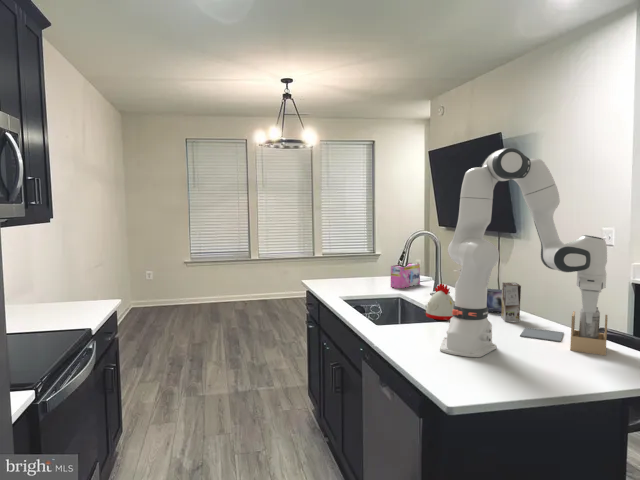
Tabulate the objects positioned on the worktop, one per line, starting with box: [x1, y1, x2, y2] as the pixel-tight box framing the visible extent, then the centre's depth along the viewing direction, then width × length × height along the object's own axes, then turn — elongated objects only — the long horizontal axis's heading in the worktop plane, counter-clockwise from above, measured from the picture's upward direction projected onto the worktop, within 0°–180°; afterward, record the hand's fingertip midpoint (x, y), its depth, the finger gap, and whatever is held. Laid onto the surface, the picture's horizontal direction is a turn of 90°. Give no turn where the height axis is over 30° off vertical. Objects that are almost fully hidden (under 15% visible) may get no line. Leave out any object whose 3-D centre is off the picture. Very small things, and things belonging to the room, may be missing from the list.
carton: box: [569, 310, 608, 356], centre depth 164 cm, size 11×11×12 cm
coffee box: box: [500, 282, 522, 323], centre depth 206 cm, size 9×6×16 cm
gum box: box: [390, 262, 421, 289], centre depth 294 cm, size 24×8×14 cm, turn 137°
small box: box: [487, 288, 502, 314], centre depth 222 cm, size 11×6×10 cm, turn 68°
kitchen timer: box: [425, 283, 455, 321], centre depth 212 cm, size 14×14×15 cm
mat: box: [519, 327, 564, 343], centre depth 182 cm, size 14×14×1 cm
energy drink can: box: [578, 305, 601, 339], centre depth 164 cm, size 6×6×15 cm
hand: (589, 320), depth 163 cm, fingers closed on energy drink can, 6 cm apart
